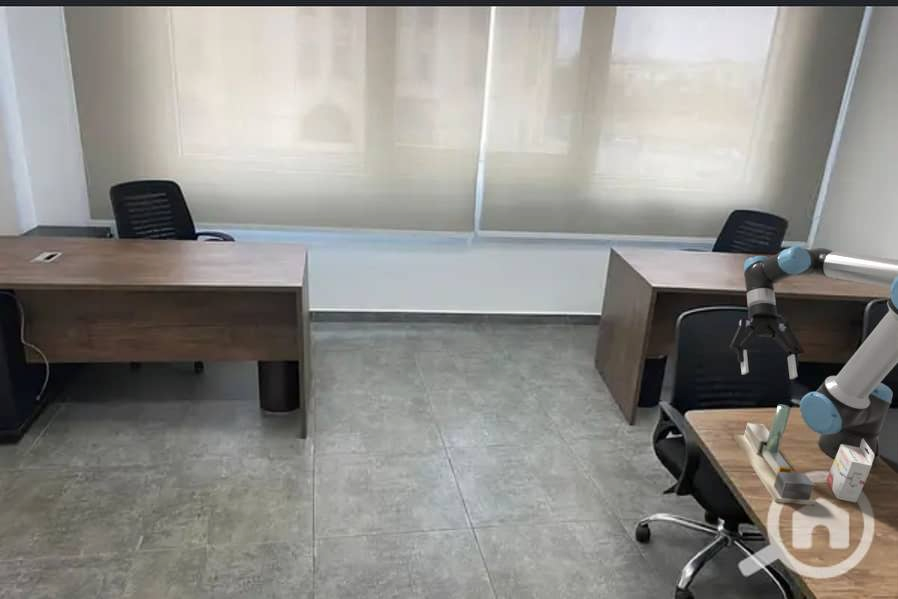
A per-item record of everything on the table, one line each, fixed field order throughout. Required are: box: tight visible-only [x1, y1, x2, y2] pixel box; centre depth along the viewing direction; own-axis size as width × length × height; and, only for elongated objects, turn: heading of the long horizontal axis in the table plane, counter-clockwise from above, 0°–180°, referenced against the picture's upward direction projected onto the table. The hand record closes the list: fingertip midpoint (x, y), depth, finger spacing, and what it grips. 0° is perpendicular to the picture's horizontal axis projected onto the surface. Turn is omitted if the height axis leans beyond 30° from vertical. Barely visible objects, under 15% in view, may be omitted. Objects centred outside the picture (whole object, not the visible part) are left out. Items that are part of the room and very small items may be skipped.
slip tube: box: [760, 403, 792, 476], centre depth 175 cm, size 3×20×16 cm, turn 177°
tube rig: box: [733, 422, 817, 506], centre depth 175 cm, size 10×30×6 cm, turn 177°
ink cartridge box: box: [826, 438, 875, 503], centre depth 165 cm, size 9×5×15 cm, turn 169°
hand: (769, 375), depth 181 cm, fingers open, 13 cm apart
